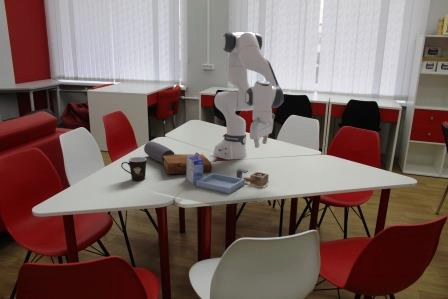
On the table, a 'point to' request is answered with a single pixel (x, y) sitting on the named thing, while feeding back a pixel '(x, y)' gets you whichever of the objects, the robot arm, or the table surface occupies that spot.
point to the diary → (182, 163)
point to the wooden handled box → (239, 175)
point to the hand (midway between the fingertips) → (260, 145)
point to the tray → (220, 183)
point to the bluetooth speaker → (156, 151)
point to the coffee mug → (137, 168)
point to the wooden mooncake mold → (257, 178)
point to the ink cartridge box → (194, 168)
